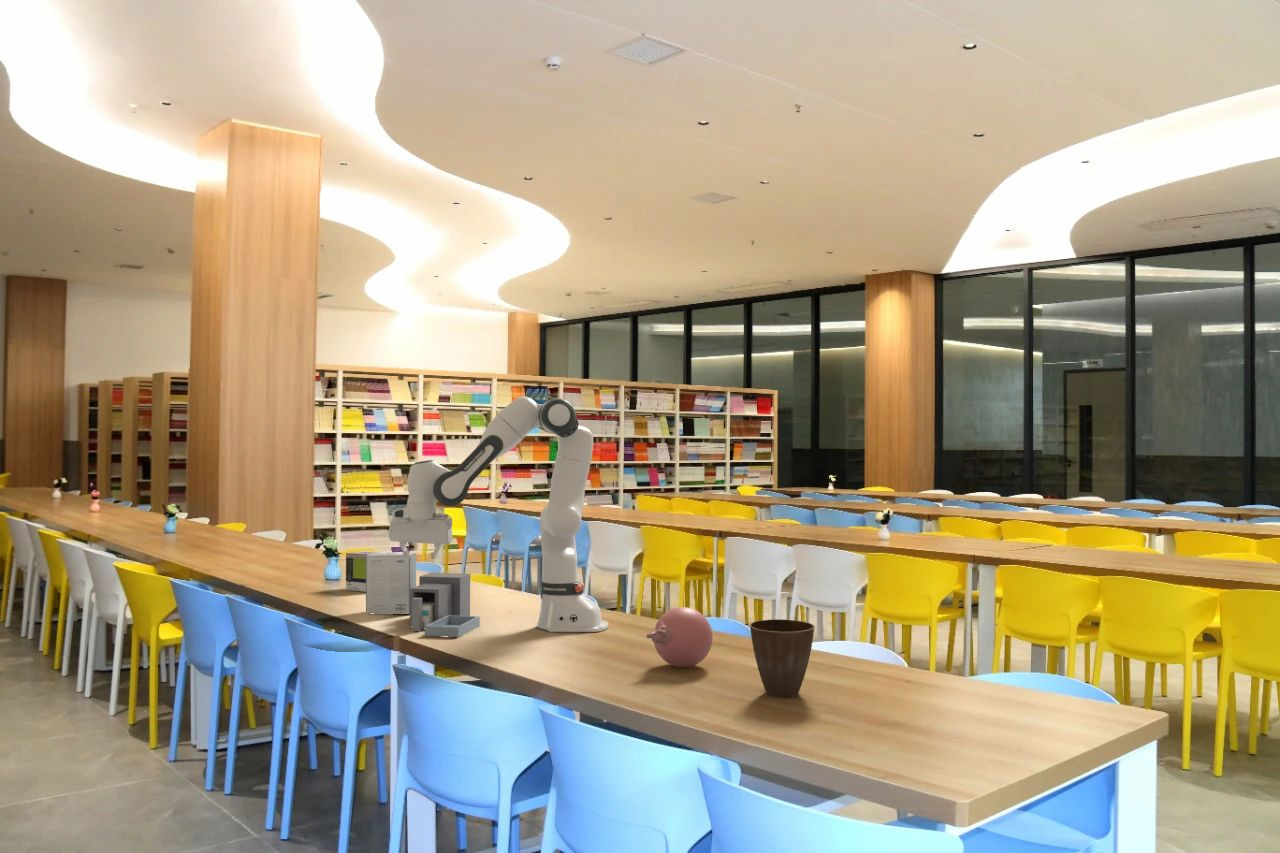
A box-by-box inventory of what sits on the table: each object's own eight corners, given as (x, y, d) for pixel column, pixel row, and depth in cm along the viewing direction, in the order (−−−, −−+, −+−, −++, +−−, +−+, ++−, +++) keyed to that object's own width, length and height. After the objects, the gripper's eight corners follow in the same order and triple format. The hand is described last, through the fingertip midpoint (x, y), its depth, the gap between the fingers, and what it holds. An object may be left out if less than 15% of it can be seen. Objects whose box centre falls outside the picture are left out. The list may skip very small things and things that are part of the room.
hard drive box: (417, 611, 338) (417, 553, 338) (409, 615, 330) (410, 555, 330) (373, 610, 339) (373, 552, 339) (364, 614, 331) (365, 554, 332)
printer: (470, 615, 329) (470, 573, 330) (445, 628, 308) (445, 583, 308) (430, 614, 332) (430, 572, 332) (403, 626, 310) (403, 581, 310)
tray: (479, 626, 311) (479, 616, 311) (458, 638, 293) (458, 627, 293) (447, 625, 313) (447, 615, 313) (424, 636, 295) (424, 626, 295)
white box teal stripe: (439, 624, 315) (439, 592, 315) (422, 632, 302) (423, 599, 302) (424, 623, 316) (425, 592, 316) (407, 631, 303) (407, 598, 303)
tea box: (391, 590, 384) (391, 552, 385) (371, 593, 376) (372, 554, 376) (364, 586, 392) (364, 549, 393) (344, 590, 384) (344, 552, 384)
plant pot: (806, 705, 221) (806, 633, 221) (742, 698, 227) (742, 628, 227) (819, 689, 235) (820, 622, 235) (758, 683, 240) (759, 617, 241)
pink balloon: (627, 667, 257) (627, 608, 257) (686, 657, 269) (687, 600, 269) (663, 679, 244) (664, 616, 244) (724, 668, 256) (724, 608, 256)
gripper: (456, 513, 306) (455, 558, 305) (397, 510, 311) (395, 554, 311) (447, 514, 299) (446, 560, 299) (387, 511, 305) (385, 556, 304)
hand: (419, 557), depth 305 cm, fingers open, 8 cm apart
